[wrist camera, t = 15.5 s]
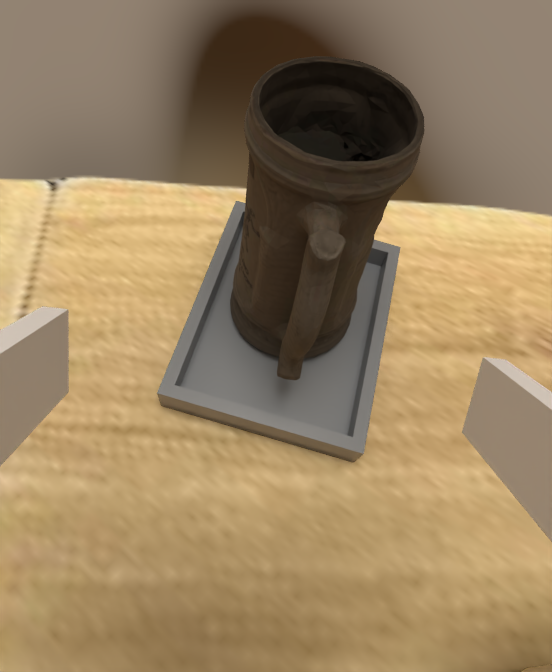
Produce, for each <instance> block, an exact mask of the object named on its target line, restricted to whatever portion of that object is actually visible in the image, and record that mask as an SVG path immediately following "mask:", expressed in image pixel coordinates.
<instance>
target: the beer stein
mask: <svg viewBox="0 0 552 672" xmlns="http://www.w3.org/2000/svg"><path fill="white" fill-rule="evenodd" d="M244 131H245V138H246V144H247V147H248V149H249V169H248V181H247V191H246V203H245V214H244V223H243V231H242V239H241V247H240V254H239V262H238V264H237V266H236V269H235V273H234V279H233V289H232V293H231V298H230V307H231V315H232V318H233V321H234V323H235V325H236V327H237V328H238V330H239V332H240V333H241V335H242V336H243V337H244V338H245V339H246V340H247V341H248V342H249V343H251V344H252V345H253V346H255V347H256V348H258V349H259V350H261V351H263V352H266V353H268V354H270V355H273V356H278V357H279V360H278V368H277V376H278V377H281V378H283V379H288V380H298V379H299V378H300V376H301V370H302V364H303V359H304V358H310V357H314V356H317V355H319V354H322V353H324V352H327V351H329V350H330V349H331V348H332V347H334V346H335V345H336V344H338V343H339V342H340V340H341V339H342V338H343V337H344V335H345V334H346V331H347V329H348V327H349V325H350V321H351V316H352V312H353V311H354V309H355V305H356V302H357V288H358V284H359V282H360V279H361V276H362V274H363V271H364V268H365V266H366V263H367V260H368V257H369V254H370V252H371V249H372V245H373V242H374V234H375V232H376V229H377V227H378V225H379V223H380V222H381V220H382V217H383V213H384V210H385V208H386V206H387V203H388V201H389V199H390V197H391V196H392V195H393V194H394V193H395V192H396V190H397V189H398V188H399V187H400V186H401V185H402V184H403V183H404V182H405V181H406V180H407V179H408V178H409V177H410V175H411V174H412V172H413V170H414V167H415V166H416V163H417V160H418V156H419V153H420V145H421V142H422V138H423V135H424V116H423V114H422V111H421V109H420V106H419V104H418V102H417V101H416V99H415V98H414V96H413V95H412V94H411V92H410V90H408V89H407V88H406V87H405V86H404V85H403V84H402V83H400V82H399V81H398V80H396V79H395V78H394V77H392V76H391V75H389V74H387V73H385V72H383V71H382V70H380V69H378V68H376V67H374V66H371V65H368V64H365V63H363V62H360V61H354V60H347V59H341V58H335V57H316V56H315V57H308V58H300V59H294V60H291V61H288V62H285V63H282V64H279V65H277V66H275V67H274V68H272V69H271V70H269V71H268V72H266V73H265V74H264V75H262V77H261V78H260V79H259V81H258V82H257V83H256V84H255V86H254V88H253V91H252V93H251V98H250V104H249V107H248V109H247V112H246V117H245V125H244Z"/></svg>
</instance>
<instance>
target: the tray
mask: <svg viewBox="0 0 552 672" xmlns="http://www.w3.org/2000/svg"><path fill="white" fill-rule="evenodd" d="M244 214H245V203H243V202H239V201H236V202H235V205H234V207H233V210H232V212H231V215H230V217H229V219H228V222H227V224H226V227H225V229H224V232H223V234H222V237H221V239H220V241H219V244H218V246H217V249H216V251H215V254H214V256H213V258H212V261H211V263H210V266H209V268H208V271H207V273H206V275H205V278H204V280H203V283H202V285H201V288H200V290H199V292H198V295H197V297H196V300H195V302H194V305H193V307H192V310H191V312H190V314H189V317H188V319H187V322H186V324H185V327H184V329H183V331H182V334H181V336H180V339H179V341H178V344H177V346H176V348H175V351H174V353H173V356H172V358H171V361H170V363H169V365H168V368H167V370H166V373H165V375H164V378H163V380H162V383H161V385H160V387H159V390H158V392H157V394H158V397H159V400H160V403H161V406H164V407H167V408H171V409H174V410H177V411H181V412H184V413H188V414H191V415H194V416H198V417H201V418H205V419H208V420H211V421H215V422H218V423H222V424H225V425H228V426H232V427H235V428H239V429H242V430H245V431H249V432H252V433H256V434H259V435H262V436H266V437H269V438H272V439H276V440H279V441H283V442H286V443H289V444H293V445H296V446H300V447H303V448H306V449H310V450H313V451H317V452H320V453H323V454H327V455H330V456H334V457H337V458H340V459H344V460H347V461H351V462H354V461H355V460H357V459H358V458H359V457H360V456H361V455H363V454H364V448H365V443H366V437H367V431H368V426H369V420H370V415H371V409H372V403H373V398H374V392H375V386H376V381H377V375H378V370H379V364H380V358H381V353H382V347H383V342H384V336H385V330H386V325H387V319H388V314H389V308H390V302H391V297H392V291H393V286H394V280H395V274H396V269H397V263H398V257H399V252H400V247H398V246H394V245H391V244H387V243H384V242H380V241H377V240H374V242H373V245H372V249H371V252H370V254H369V257H368V260H367V263H366V266H365V268H364V271H363V274H362V276H361V279H360V282H359V284H358V288H357V302H356V305H355V309H354V311H353V312H352V316H351V321H350V325H349V327H348V329H347V331H346V334H345V335H344V337H343V338H342V339H341V340H340V342H339V343H338V344H336V345H335V346H334V347H332V348H331V349H330V350H329V351H327V352H324V353H322V354H319V355H317V356H314V357H310V358H304V359H303V364H302V370H301V376H300V378H299V379H298V380H288V379H283V378H281V377H278V376H277V368H278V360H279V357H278V356H273V355H270V354H268V353H266V352H263V351H261V350H259V349H258V348H256V347H255V346H253V345H252V344H251V343H249V342H248V341H247V340H246V339H245V338H244V337H243V336H242V335H241V333H240V332H239V330H238V328H237V327H236V325H235V323H234V321H233V318H232V315H231V307H230V298H231V293H232V289H233V279H234V273H235V269H236V266H237V264H238V262H239V254H240V247H241V239H242V231H243V223H244Z"/></svg>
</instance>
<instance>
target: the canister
mask: <svg viewBox="0 0 552 672" xmlns="http://www.w3.org/2000/svg"><path fill="white" fill-rule="evenodd" d="M521 672H552V664H549V665H542V666H540V667H529V668H526V669H524V670H522V671H521Z"/></svg>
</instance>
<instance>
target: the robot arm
mask: <svg viewBox="0 0 552 672" xmlns="http://www.w3.org/2000/svg"><path fill="white" fill-rule="evenodd" d="M67 393H68V309H61V308H52V307H44V306H42V307H40V308H39V309H37V310H35V311H33V312H32V313H30V314H28V315H26V316H24V317H23V318H21V319H19V320H17V321H16V322H14V323H12V324H10V325H8V326H7V327H5V328H3V329H1V330H0V466H1V465H2V464H3V463H4V462H5V460H6V459H7V458H8V457H9V456H10V455H11V454H12V453H13V452H14V451H15V450H16V449H17V447H18V446H19V445H20V444H21V443H22V442H23V441H24V440H25V439H26V438H27V437H28V435H29V434H30V433H31V432H32V431H33V430H34V429H35V428H36V427H37V426H38V425H39V424H40V422H41V421H42V420H43V419H44V418H45V417H46V416H47V415H48V414H49V413H50V412H51V410H52V409H53V408H54V407H55V406H56V405H57V404H58V403H59V402H60V401H61V400H62V398H63V397H64V396H65V395H66V394H67ZM462 433H463V434H464V435H465V437H466V438H467V439H468V440H469V442H470V443H471V444H472V445H473V446H474V448H475V449H476V450H477V451H478V453H479V454H480V455H481V456H482V457H483V459H484V460H485V461H486V462H487V464H488V465H489V466H490V467H491V468H492V470H493V471H494V472H495V473H496V475H497V476H498V477H499V478H500V479H501V481H502V482H503V483H504V484H505V486H506V487H507V488H508V489H509V490H510V492H511V493H512V494H513V495H514V497H515V498H516V499H517V500H518V501H519V503H520V504H521V505H522V506H523V507H524V509H525V510H526V511H527V512H528V514H529V515H530V516H531V517H532V518H533V520H534V521H535V522H536V523H537V525H538V526H539V527H540V528H541V529H542V531H543V532H544V533H545V534H546V536H547V537H548V538H549V539H550V540H551V542H552V392H551V391H549V390H548V389H546V388H545V387H544V386H542V385H541V384H539V383H538V382H537V381H535V380H534V379H532V378H531V377H529V376H528V375H527V374H525V373H524V372H522V371H521V370H520V369H518V368H517V367H515V366H514V365H513V364H511V363H510V362H508V361H507V360H504V359H496V358H487V357H483V359H482V363H481V366H480V370H479V373H478V377H477V380H476V384H475V388H474V391H473V395H472V398H471V402H470V405H469V409H468V413H467V416H466V420H465V423H464V427H463V430H462Z"/></svg>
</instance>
